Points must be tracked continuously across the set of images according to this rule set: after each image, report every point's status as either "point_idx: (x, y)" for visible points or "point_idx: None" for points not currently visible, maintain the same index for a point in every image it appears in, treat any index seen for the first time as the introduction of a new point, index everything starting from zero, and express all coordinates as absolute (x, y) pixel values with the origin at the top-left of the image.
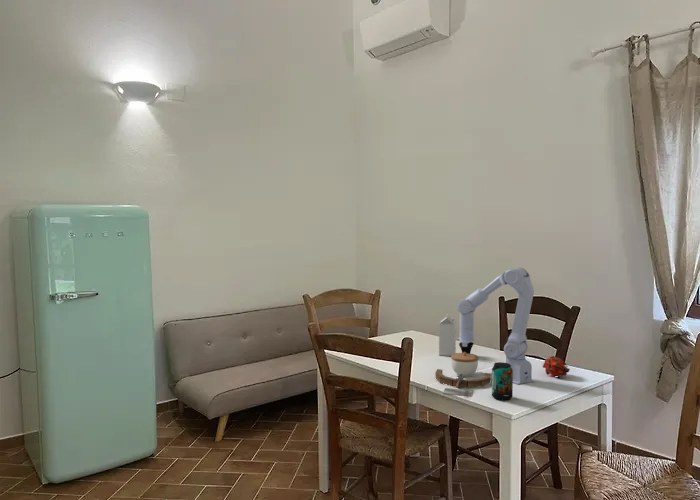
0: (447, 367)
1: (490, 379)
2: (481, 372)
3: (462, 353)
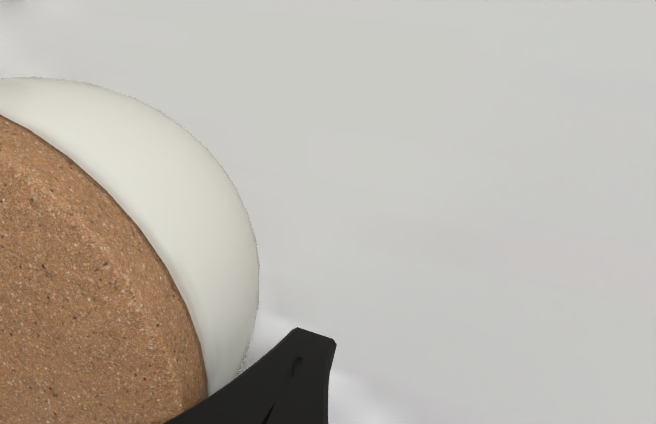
0: (518, 17)
1: None
2: None
3: (88, 377)
